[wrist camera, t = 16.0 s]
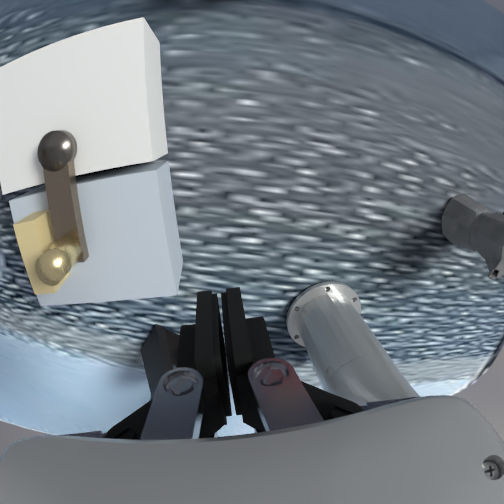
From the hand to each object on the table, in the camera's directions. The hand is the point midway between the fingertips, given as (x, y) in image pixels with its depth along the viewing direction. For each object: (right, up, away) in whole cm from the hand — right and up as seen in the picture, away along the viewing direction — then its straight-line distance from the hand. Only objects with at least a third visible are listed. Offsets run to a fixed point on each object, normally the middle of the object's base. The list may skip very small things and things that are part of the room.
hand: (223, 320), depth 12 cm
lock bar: (-18, +8, +14) cm, 24 cm away
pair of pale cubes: (-19, +14, +23) cm, 33 cm away
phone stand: (-12, -13, +36) cm, 40 cm away
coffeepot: (+38, +9, +33) cm, 52 cm away
